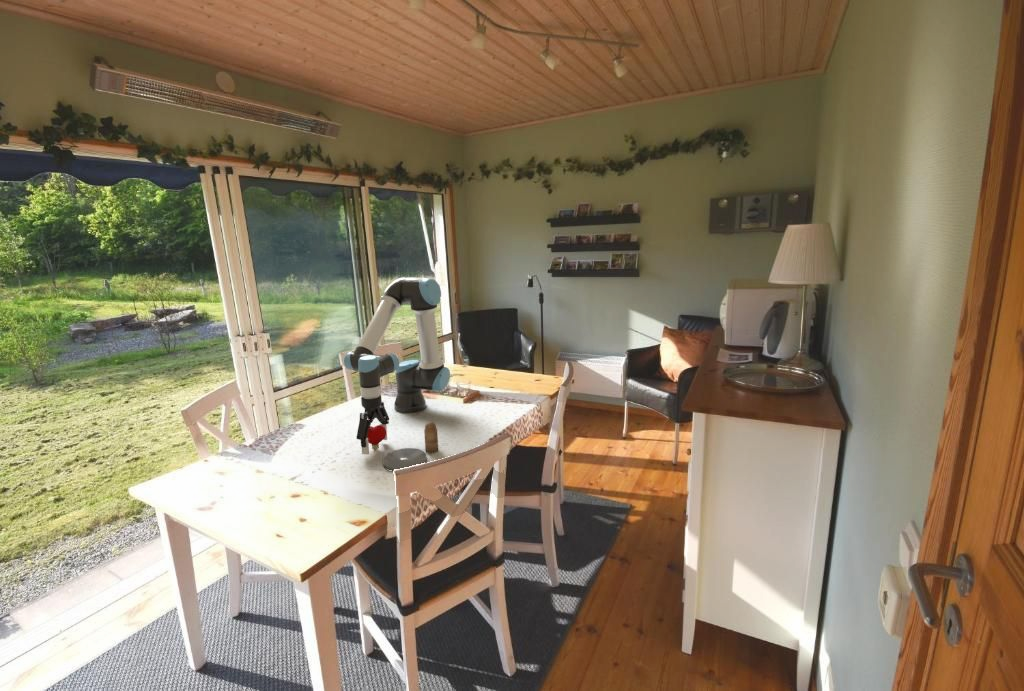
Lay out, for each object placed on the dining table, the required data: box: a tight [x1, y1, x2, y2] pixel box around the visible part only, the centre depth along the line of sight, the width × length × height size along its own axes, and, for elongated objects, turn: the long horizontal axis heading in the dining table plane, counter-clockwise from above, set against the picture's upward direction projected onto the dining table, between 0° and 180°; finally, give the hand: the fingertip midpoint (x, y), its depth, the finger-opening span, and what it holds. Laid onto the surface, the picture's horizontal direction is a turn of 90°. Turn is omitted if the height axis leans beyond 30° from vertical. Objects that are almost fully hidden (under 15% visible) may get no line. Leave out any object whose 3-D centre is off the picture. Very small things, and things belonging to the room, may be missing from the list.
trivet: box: [382, 447, 427, 472], centre depth 179 cm, size 16×16×2 cm
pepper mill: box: [423, 421, 439, 454], centre depth 187 cm, size 5×5×12 cm
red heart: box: [367, 424, 386, 451], centre depth 188 cm, size 9×7×10 cm
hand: (375, 446), depth 189 cm, fingers open, 13 cm apart
